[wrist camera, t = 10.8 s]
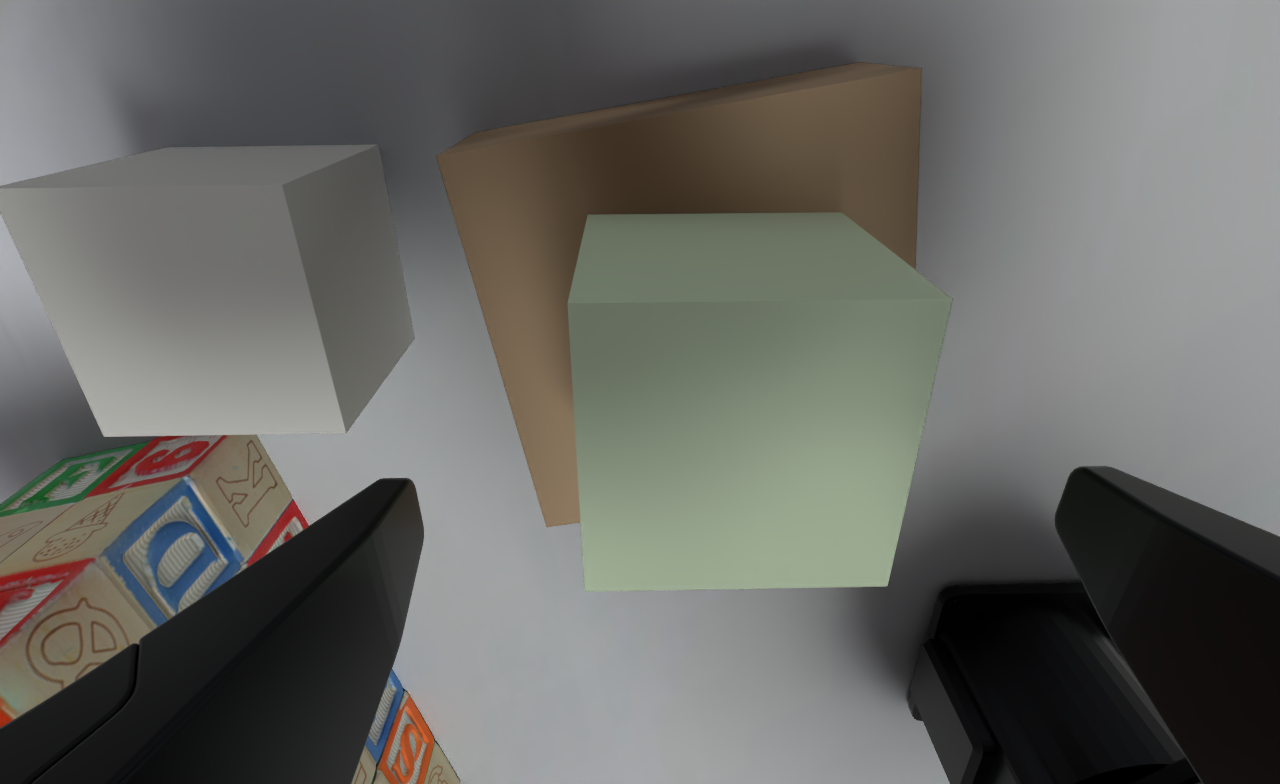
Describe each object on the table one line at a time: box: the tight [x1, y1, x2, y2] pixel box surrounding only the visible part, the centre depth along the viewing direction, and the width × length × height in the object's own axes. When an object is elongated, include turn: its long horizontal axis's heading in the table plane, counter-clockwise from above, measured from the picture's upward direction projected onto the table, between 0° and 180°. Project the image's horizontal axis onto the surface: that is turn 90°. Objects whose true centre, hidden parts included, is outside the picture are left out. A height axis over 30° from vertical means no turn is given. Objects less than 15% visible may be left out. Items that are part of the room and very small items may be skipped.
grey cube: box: [0, 145, 415, 437], centre depth 15 cm, size 5×5×5 cm
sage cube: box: [567, 212, 953, 592], centre depth 12 cm, size 5×5×5 cm
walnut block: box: [436, 62, 922, 527], centre depth 16 cm, size 9×9×4 cm
